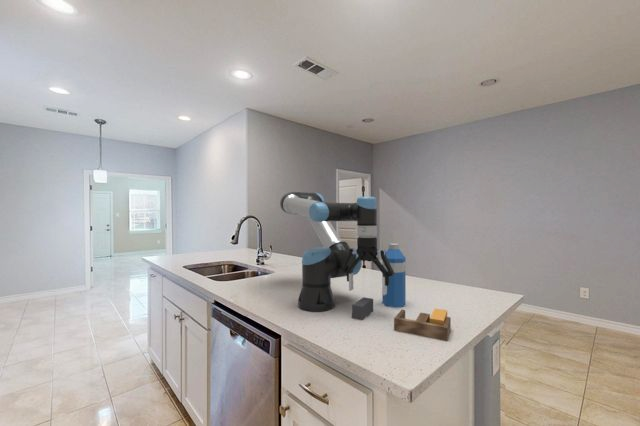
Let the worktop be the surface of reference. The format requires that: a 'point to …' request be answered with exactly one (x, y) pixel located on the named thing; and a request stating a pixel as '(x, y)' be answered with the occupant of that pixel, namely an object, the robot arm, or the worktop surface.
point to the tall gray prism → (362, 308)
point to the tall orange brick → (438, 316)
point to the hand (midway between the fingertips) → (367, 292)
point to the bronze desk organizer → (422, 326)
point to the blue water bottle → (395, 278)
